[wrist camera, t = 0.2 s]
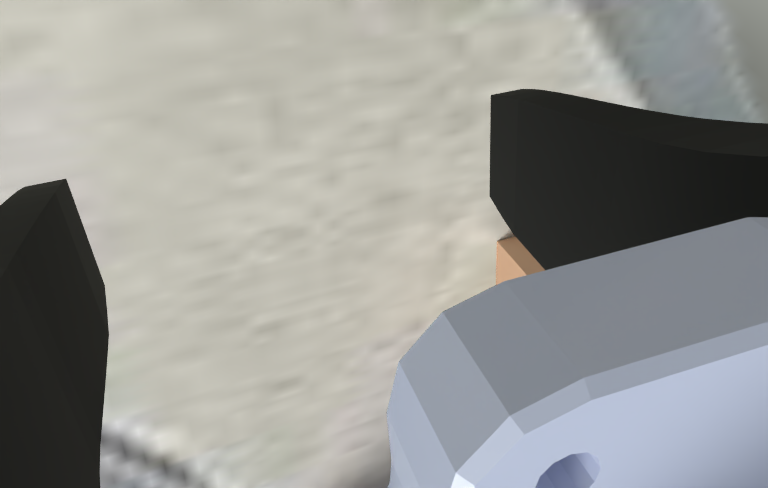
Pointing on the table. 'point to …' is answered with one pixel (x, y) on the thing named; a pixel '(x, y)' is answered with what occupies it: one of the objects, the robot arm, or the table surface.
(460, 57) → the table surface
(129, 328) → the table surface
